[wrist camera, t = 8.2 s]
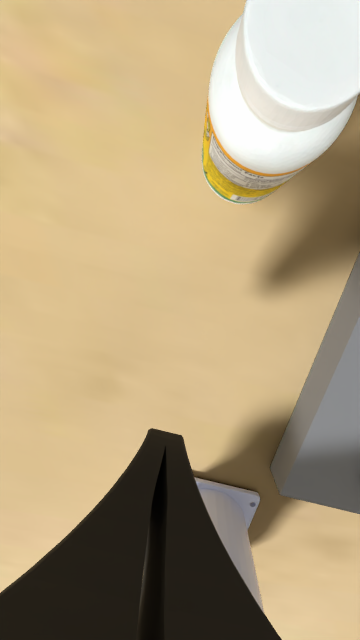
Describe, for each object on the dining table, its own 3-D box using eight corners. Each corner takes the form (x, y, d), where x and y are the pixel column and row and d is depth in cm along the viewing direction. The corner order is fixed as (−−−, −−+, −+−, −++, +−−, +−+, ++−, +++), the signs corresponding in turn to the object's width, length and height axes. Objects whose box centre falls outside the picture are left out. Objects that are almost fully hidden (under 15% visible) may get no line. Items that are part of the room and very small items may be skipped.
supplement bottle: (243, 223, 17) (310, 184, 7) (182, 163, 16) (171, 36, 7) (307, 153, 15) (481, 1, 6) (244, 85, 15) (335, -204, 5)
